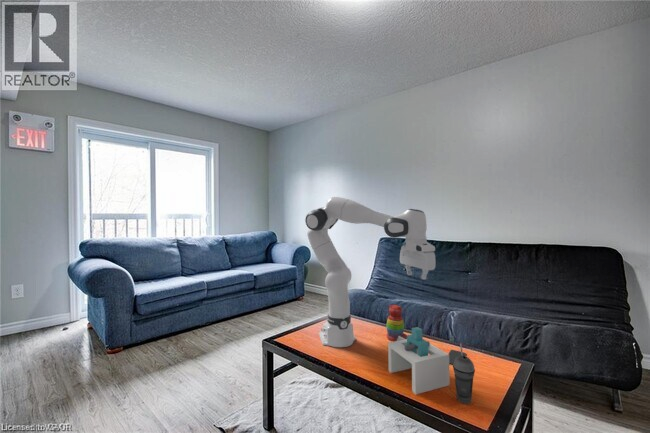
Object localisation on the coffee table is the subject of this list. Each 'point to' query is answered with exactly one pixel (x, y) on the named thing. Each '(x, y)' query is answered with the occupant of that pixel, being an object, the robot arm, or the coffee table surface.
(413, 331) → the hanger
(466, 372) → the beverage cup
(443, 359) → the shelf
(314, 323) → the coffee table surface
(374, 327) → the coffee table surface
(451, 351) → the smartphone
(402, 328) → the stacking bear
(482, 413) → the coffee table surface
